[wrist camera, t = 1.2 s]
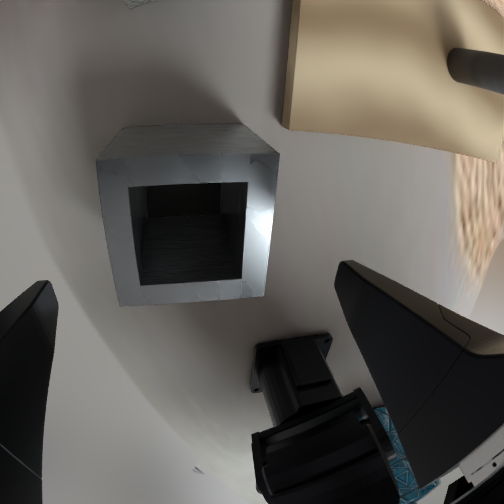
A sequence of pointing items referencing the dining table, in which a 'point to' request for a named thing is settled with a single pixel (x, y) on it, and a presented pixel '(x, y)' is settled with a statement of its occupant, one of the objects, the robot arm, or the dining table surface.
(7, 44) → the dining table surface
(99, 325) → the dining table surface
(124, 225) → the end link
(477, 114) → the board
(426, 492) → the lamp
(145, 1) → the grey open cube box
